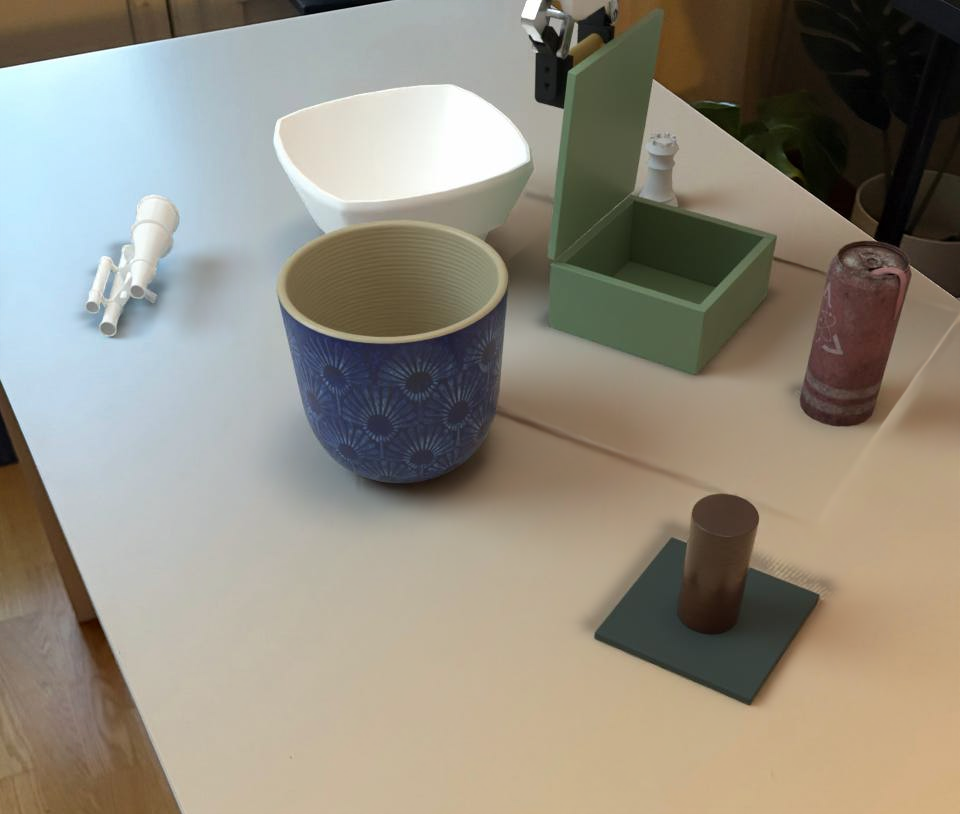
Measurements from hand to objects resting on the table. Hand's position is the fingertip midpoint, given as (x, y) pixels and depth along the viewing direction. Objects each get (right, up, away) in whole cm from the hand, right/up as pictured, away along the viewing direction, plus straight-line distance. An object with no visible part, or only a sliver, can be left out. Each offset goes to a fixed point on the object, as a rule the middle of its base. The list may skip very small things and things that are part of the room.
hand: (573, 87), depth 102 cm
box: (+9, -16, +11) cm, 21 cm away
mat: (+9, -46, -14) cm, 49 cm away
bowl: (-15, -7, +18) cm, 25 cm away
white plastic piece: (-40, -12, +15) cm, 45 cm away
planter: (-14, -31, -1) cm, 34 cm away
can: (+22, -27, +1) cm, 35 cm away
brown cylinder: (+8, -45, -15) cm, 49 cm away
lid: (+3, -4, +1) cm, 5 cm away
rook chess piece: (+10, -1, +23) cm, 25 cm away
